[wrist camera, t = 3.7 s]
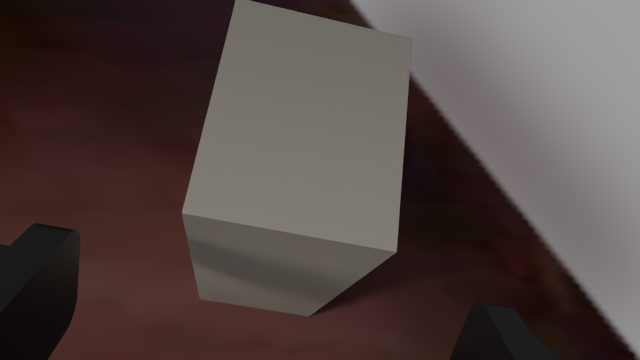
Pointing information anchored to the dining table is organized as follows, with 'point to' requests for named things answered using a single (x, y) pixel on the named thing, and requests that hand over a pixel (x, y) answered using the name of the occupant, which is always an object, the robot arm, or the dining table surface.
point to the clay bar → (297, 160)
